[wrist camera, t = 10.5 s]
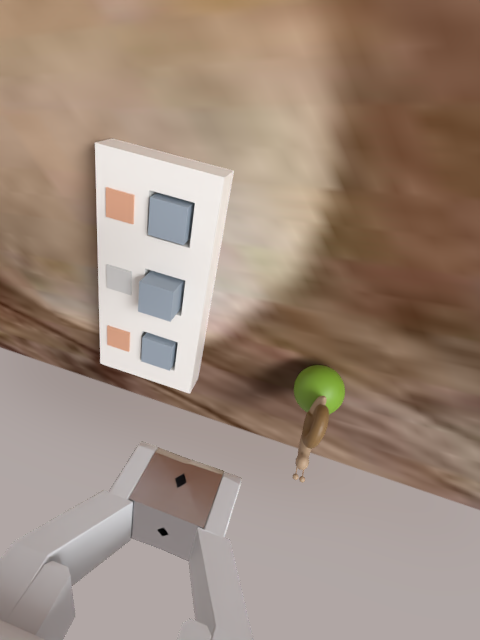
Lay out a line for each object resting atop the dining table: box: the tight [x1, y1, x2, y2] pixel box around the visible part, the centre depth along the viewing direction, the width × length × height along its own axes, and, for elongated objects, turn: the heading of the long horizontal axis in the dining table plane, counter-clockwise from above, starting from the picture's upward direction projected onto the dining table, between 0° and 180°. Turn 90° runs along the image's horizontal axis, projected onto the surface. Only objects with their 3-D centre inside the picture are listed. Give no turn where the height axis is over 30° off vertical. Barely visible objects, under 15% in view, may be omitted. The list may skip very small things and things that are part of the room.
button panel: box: [95, 138, 234, 393], centre depth 41 cm, size 26×12×3 cm, turn 169°
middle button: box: [138, 270, 185, 322], centre depth 40 cm, size 4×4×3 cm
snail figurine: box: [293, 365, 345, 482], centre depth 39 cm, size 5×6×12 cm
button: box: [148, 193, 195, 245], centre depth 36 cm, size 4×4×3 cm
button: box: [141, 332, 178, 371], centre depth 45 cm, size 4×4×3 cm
